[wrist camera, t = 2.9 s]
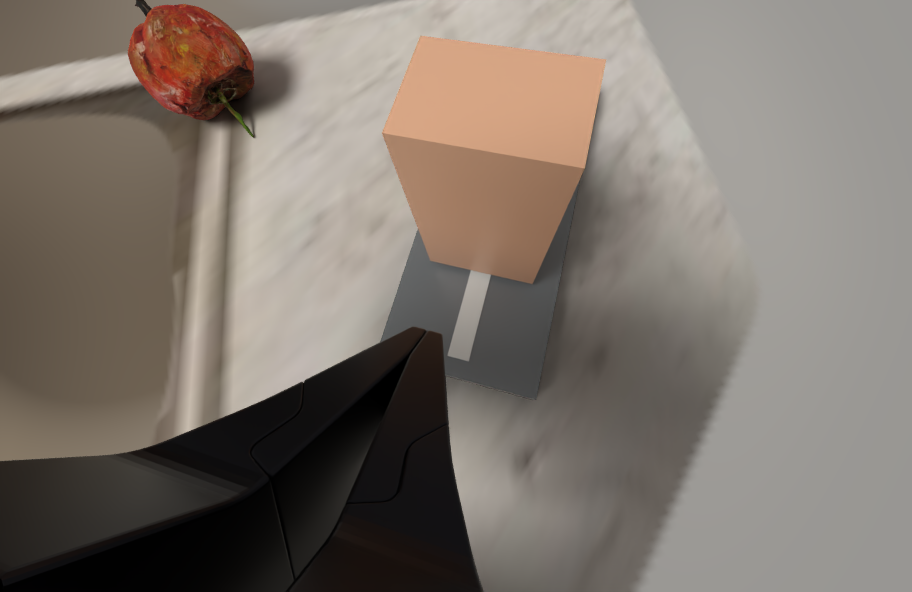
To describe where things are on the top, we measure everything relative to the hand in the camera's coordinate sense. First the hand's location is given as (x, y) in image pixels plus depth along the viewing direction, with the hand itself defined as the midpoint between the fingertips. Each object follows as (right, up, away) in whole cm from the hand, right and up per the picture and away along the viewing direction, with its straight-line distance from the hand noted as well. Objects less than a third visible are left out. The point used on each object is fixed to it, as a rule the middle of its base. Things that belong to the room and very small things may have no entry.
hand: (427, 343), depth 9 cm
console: (+4, +7, +14) cm, 16 cm away
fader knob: (+3, +5, +11) cm, 12 cm away
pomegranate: (-17, +17, +19) cm, 31 cm away
